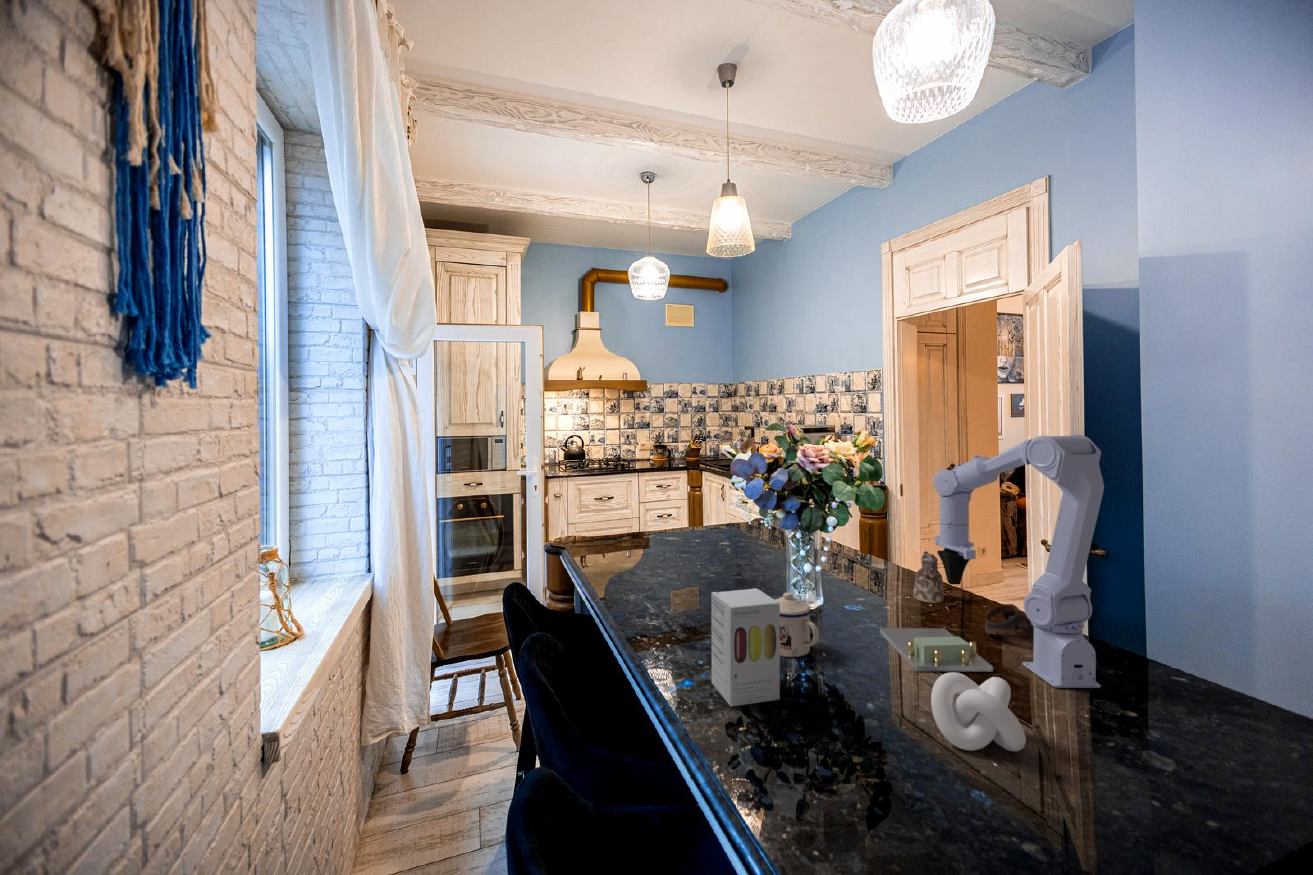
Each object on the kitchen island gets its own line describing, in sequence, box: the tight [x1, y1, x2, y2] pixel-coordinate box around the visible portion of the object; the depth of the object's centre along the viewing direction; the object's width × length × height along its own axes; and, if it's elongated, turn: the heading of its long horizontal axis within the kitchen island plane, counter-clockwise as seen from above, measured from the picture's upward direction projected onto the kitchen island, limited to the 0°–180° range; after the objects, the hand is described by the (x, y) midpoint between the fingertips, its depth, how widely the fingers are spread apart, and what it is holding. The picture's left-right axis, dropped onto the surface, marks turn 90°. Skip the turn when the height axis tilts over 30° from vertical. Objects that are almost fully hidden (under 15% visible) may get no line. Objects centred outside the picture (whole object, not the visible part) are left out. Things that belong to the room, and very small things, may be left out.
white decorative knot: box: [930, 672, 1027, 752], centre depth 82 cm, size 11×12×9 cm
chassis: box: [879, 627, 994, 673], centre depth 113 cm, size 19×14×4 cm
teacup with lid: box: [774, 592, 820, 658], centre depth 114 cm, size 12×9×12 cm
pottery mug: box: [983, 603, 1034, 638], centre depth 120 cm, size 12×10×8 cm
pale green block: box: [914, 636, 970, 661], centre depth 108 cm, size 4×9×3 cm, turn 91°
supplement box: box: [711, 587, 781, 708], centre depth 98 cm, size 10×9×17 cm
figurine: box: [913, 551, 945, 604], centre depth 146 cm, size 7×7×12 cm
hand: (953, 583), depth 124 cm, fingers closed
